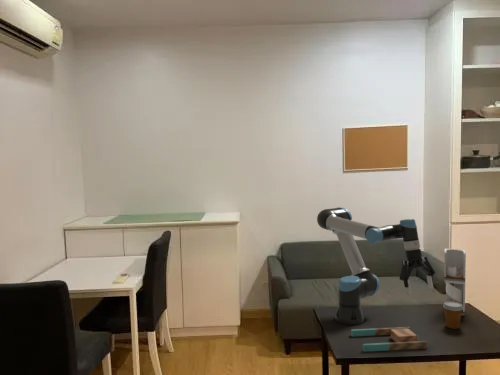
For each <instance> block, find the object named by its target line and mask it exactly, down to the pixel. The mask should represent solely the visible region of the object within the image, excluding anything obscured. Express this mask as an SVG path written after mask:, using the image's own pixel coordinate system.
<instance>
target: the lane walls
mask: <svg viewBox="0 0 500 375" xmlns="http://www.w3.org/2000/svg"><path fill="white" fill-rule="evenodd" d="M407 328H408V329H410V330H411V327H410V326H398V327H395V326H393V327H379V328H378V327H375V328H374V329H375V330H376V332H375V335H374V336H389V335H390V336H391V329H407ZM388 343H389V350H388V351H400V350H401V351H402V350H421V349H423V350H424V349H427V348H428V342H427V341H426V340H417V341H412V342H395V341H394V342H388Z"/></svg>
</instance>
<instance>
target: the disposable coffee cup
mask: <svg viewBox="0 0 500 375" xmlns="http://www.w3.org/2000/svg"><path fill="white" fill-rule="evenodd" d="M442 306H443V313H444V312H445V313H444V317H445V325H446V327H447V328H449V329H453V330H454V329H455V330H456V329H460V326H461V319H462V315H461V313H462V309H463V307H462V304H460V303H458V302H451V301H449V302H446V301H444V302H443V305H442Z"/></svg>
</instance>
